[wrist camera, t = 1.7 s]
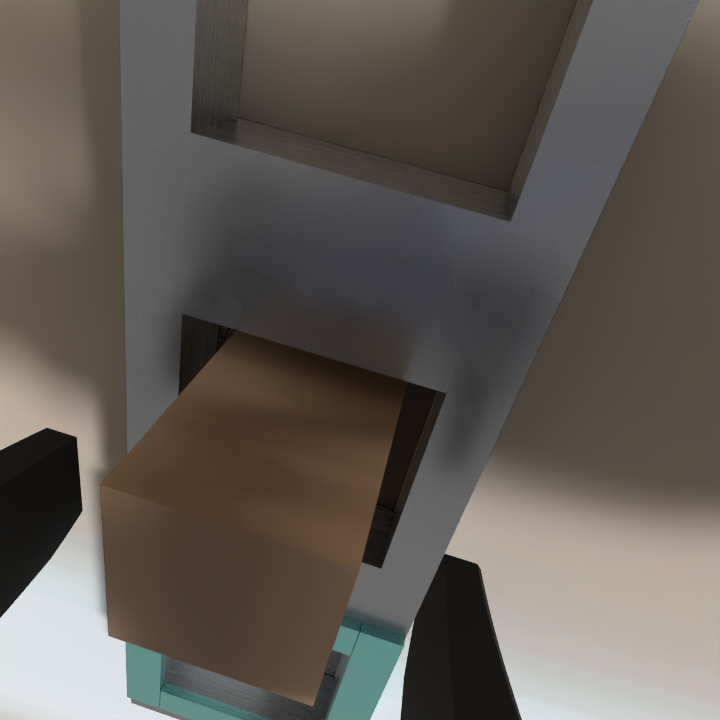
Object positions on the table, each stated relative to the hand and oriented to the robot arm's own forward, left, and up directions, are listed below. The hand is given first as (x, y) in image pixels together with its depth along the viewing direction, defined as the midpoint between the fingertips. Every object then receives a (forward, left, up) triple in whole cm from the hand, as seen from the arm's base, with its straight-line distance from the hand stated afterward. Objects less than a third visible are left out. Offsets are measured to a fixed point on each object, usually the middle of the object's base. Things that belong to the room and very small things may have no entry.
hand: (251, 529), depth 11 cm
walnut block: (0, 0, -4) cm, 4 cm away
